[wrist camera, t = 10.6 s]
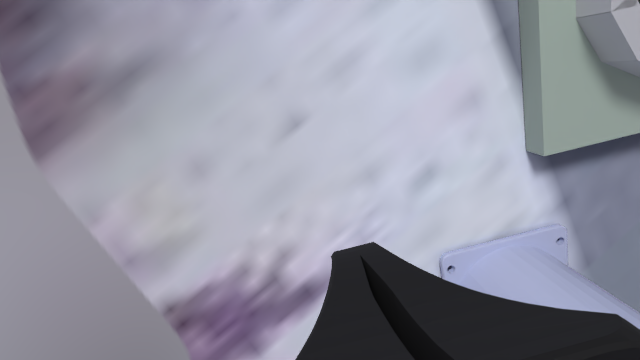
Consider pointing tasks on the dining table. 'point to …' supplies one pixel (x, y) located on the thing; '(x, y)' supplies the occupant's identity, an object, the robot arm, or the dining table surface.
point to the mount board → (579, 72)
